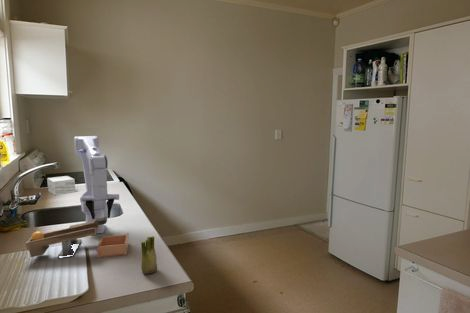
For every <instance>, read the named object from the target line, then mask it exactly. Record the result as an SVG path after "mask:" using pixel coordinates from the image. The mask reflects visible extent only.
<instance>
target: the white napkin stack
mask: <svg viewBox="0 0 470 313" xmlns="http://www.w3.org/2000/svg"><path fill="white" fill-rule="evenodd" d="M46 180H47V181H46V182H47V190H48V192H49V193H51V194H52V195H53V196H59V195H67V194H72V193H76V182H75V180H76V179H75V178H73V177H71V176H69V175H64V176H63V175H62V176H53V177H47V178H46Z"/></svg>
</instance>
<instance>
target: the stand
mask: <svg viewBox="0 0 470 313" xmlns="http://www.w3.org/2000/svg"><path fill="white" fill-rule="evenodd" d="M82 240H83V239H82V238H78V239H74V240H69V241H65V242H61V251H60V252H59V254H58V256H67V255H73V253H74V251H73V249H71V248H72V246H71V245H73V244H80V245H81V244H82ZM58 256H57V257H58Z"/></svg>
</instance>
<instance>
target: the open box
mask: <svg viewBox="0 0 470 313" xmlns="http://www.w3.org/2000/svg"><path fill="white" fill-rule="evenodd" d="M129 245H130V244H129V232H126V234H119V235H117V234H116V235H105V236H102V237H101V238H100V240H99V242H98V245H97V247H96V253H97V254H96V256H97V258H98V259H100V258H106V257H115V256H116V257H117V256H122V255H123V256H127V253H128V249H129Z"/></svg>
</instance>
